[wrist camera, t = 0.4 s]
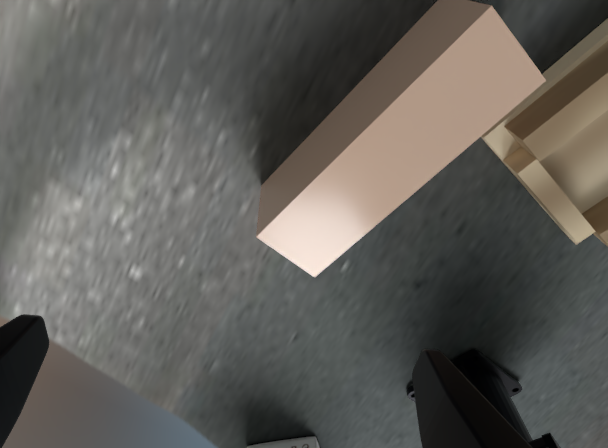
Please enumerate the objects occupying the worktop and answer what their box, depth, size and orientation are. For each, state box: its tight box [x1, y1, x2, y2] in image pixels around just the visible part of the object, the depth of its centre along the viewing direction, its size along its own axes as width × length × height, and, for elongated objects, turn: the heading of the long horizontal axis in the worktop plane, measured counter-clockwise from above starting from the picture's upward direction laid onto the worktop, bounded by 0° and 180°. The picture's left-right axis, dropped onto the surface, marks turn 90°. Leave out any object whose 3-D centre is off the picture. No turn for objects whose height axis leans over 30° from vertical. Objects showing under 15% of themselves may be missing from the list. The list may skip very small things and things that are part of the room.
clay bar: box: [256, 0, 546, 277], centre depth 18 cm, size 4×12×5 cm, turn 137°
